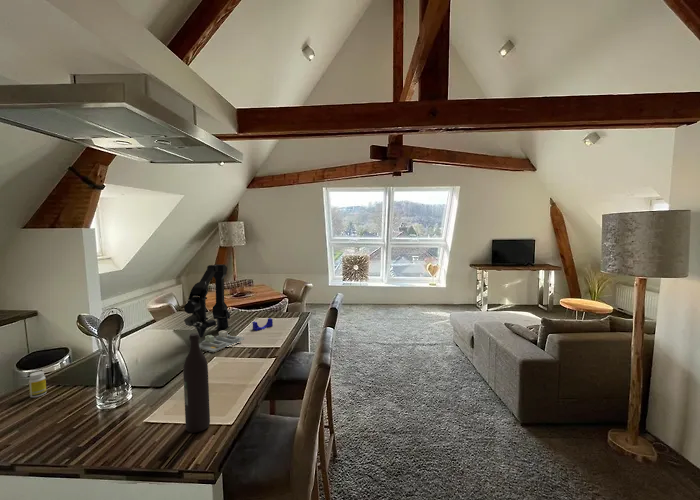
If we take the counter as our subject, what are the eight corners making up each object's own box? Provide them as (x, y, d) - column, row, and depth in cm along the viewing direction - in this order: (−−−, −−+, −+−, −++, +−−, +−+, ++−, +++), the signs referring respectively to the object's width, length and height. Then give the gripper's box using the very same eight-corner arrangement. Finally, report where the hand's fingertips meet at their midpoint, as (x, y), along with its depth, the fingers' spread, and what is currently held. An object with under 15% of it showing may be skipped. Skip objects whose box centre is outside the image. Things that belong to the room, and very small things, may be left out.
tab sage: (205, 342, 182) (204, 335, 182) (209, 341, 184) (209, 334, 184) (210, 344, 180) (209, 336, 180) (214, 342, 182) (213, 335, 182)
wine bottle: (198, 418, 113) (194, 330, 111) (214, 423, 110) (211, 332, 108) (180, 430, 106) (176, 336, 104) (197, 435, 104) (194, 339, 102)
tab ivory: (218, 337, 190) (218, 331, 190) (222, 336, 192) (222, 329, 192) (223, 339, 188) (223, 332, 188) (227, 337, 190) (227, 330, 190)
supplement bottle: (49, 392, 132) (48, 371, 131) (35, 398, 127) (34, 376, 126) (40, 391, 133) (39, 370, 132) (26, 396, 128) (24, 375, 128)
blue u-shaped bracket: (256, 333, 203) (256, 323, 203) (252, 331, 206) (252, 321, 206) (274, 328, 211) (273, 319, 211) (270, 327, 215) (269, 318, 214)
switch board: (193, 347, 179) (193, 343, 179) (227, 336, 198) (227, 331, 198) (213, 353, 171) (213, 348, 171) (247, 340, 190) (247, 335, 190)
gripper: (175, 310, 182) (176, 338, 183) (197, 314, 173) (199, 344, 174) (194, 305, 192) (195, 333, 193) (216, 309, 182) (217, 338, 184)
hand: (201, 337), depth 186 cm, fingers closed
